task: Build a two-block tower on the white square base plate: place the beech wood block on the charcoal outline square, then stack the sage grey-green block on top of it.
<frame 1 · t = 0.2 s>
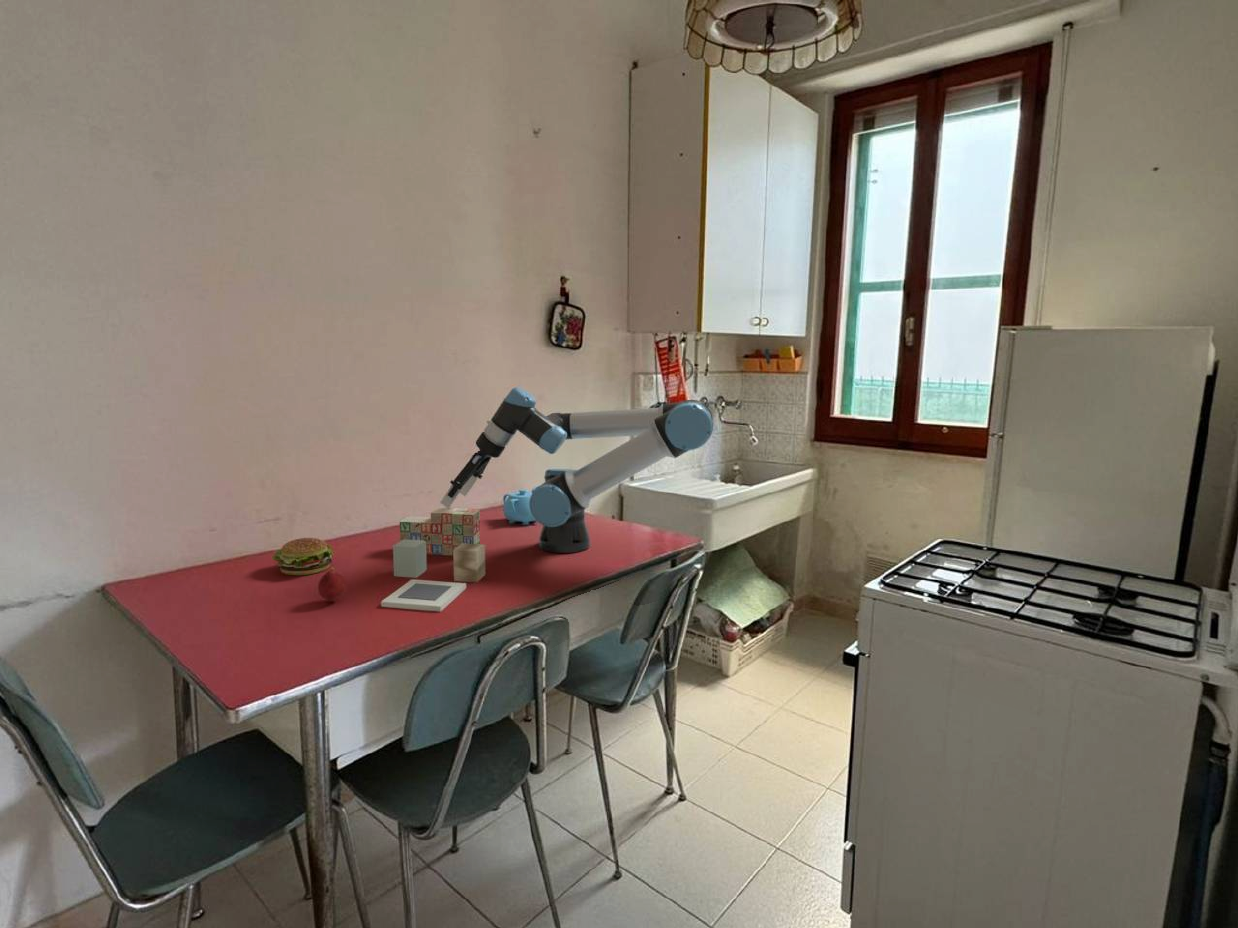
hand: (453, 499, 187), 16 cm above the table, tool tilted 35°, fingers open, 13 cm apart
stack of blocks: (440, 552, 191), on the table
sage block: (410, 573, 173), on the table
onion: (333, 602, 152), on the table
white square base plate: (425, 596, 156), on the table
food: (303, 570, 174), on the table
beech block: (469, 577, 170), on the table
teapot: (524, 521, 226), on the table
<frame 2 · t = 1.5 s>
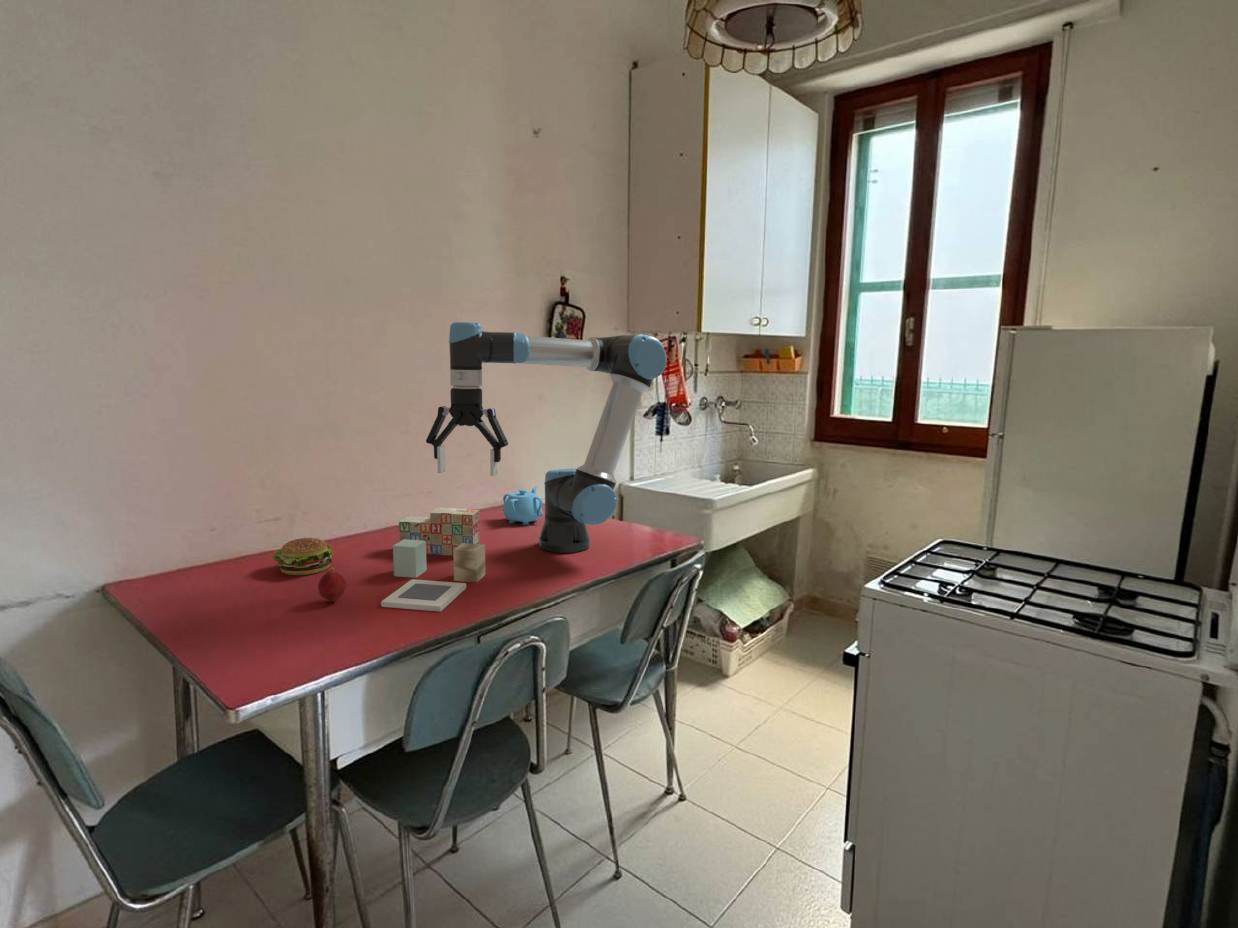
hand: (467, 473, 166), 27 cm above the table, tool pointing down, fingers open, 13 cm apart
nothing on the table moved.
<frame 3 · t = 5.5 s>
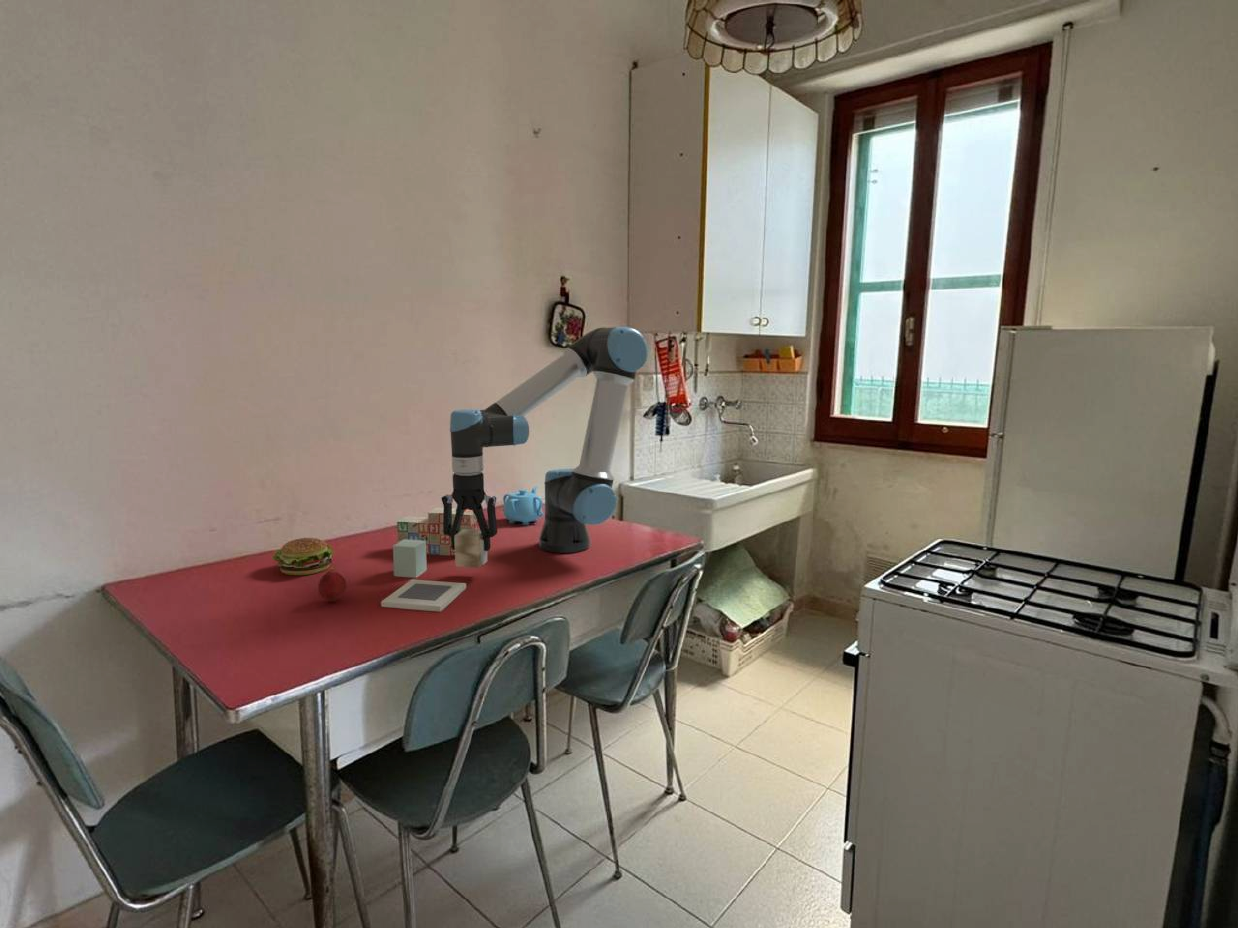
hand: (471, 561, 170), 4 cm above the table, tool pointing down, fingers closed on beech block, 6 cm apart
beech block: (471, 563, 170), point 4 cm above the table, touching gripper
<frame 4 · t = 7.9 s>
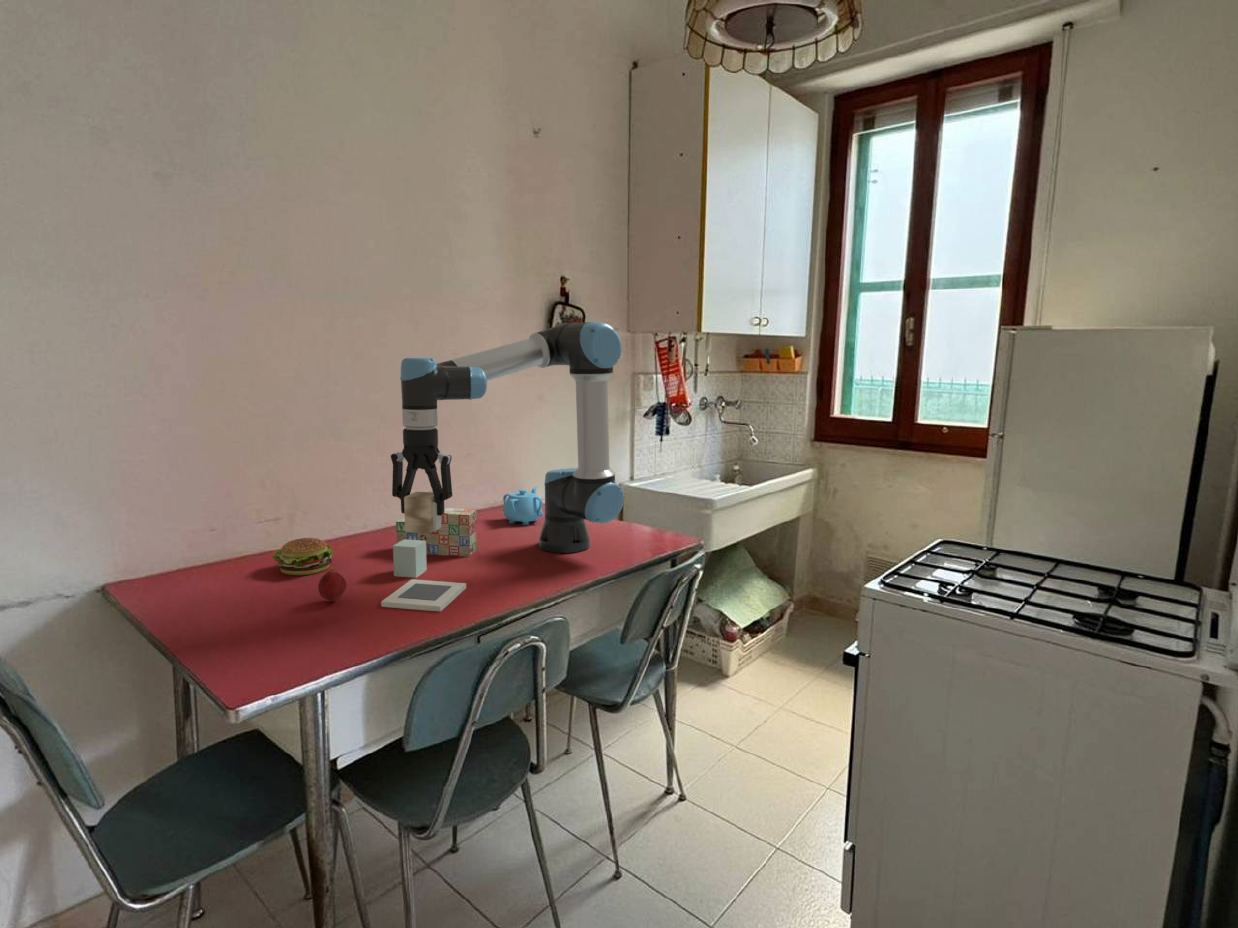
hand: (423, 527, 154), 17 cm above the table, tool pointing down, fingers closed on beech block, 6 cm apart
beech block: (423, 529, 154), point 16 cm above the table, touching gripper
when the fingers open (3 cm above the table, at t = 10.6 s): beech block drops 2 cm, resting on white square base plate.
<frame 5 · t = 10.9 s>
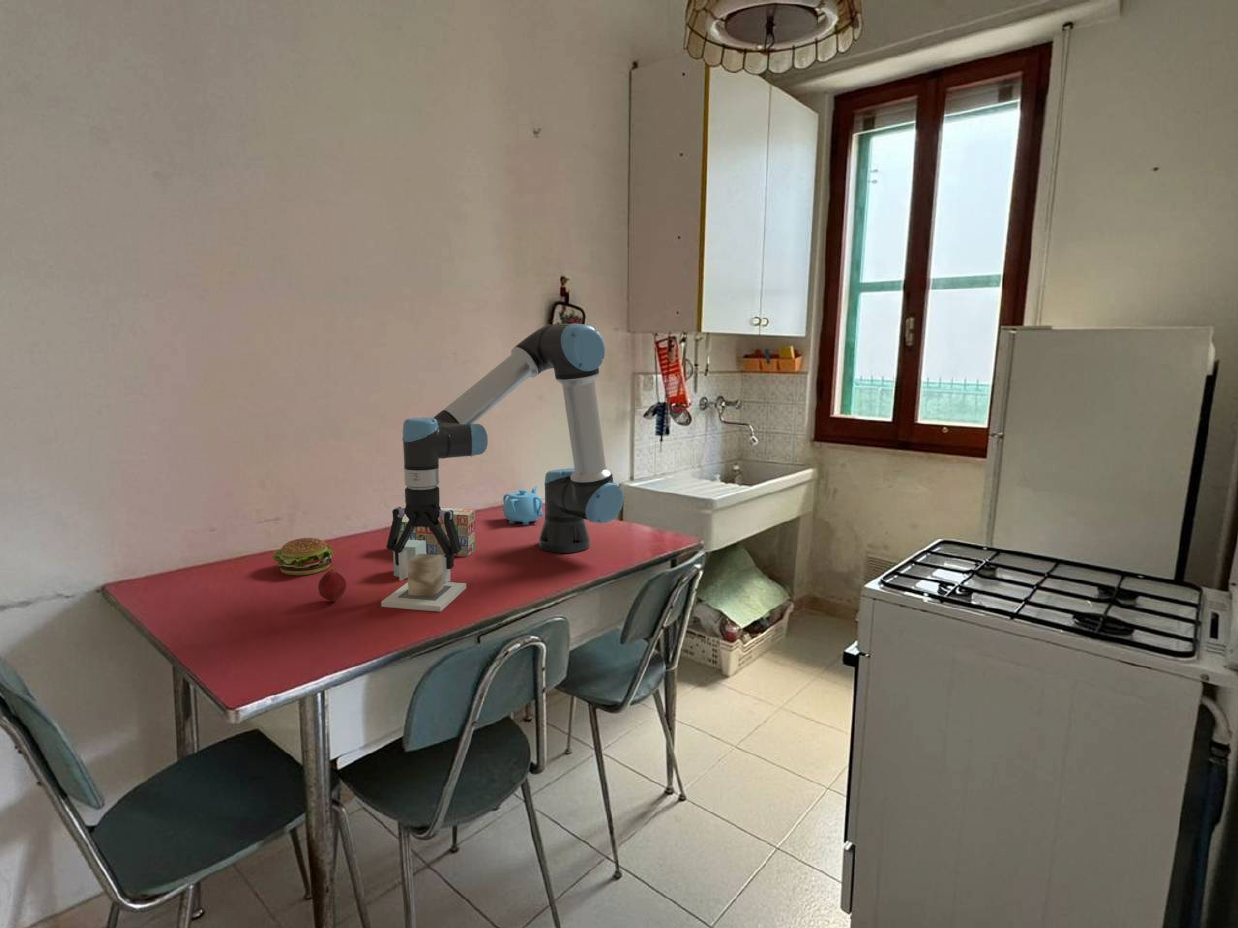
hand: (425, 580, 156), 4 cm above the table, tool pointing down, fingers open, 10 cm apart
beech block: (426, 591, 156), point 1 cm above the table, touching white square base plate
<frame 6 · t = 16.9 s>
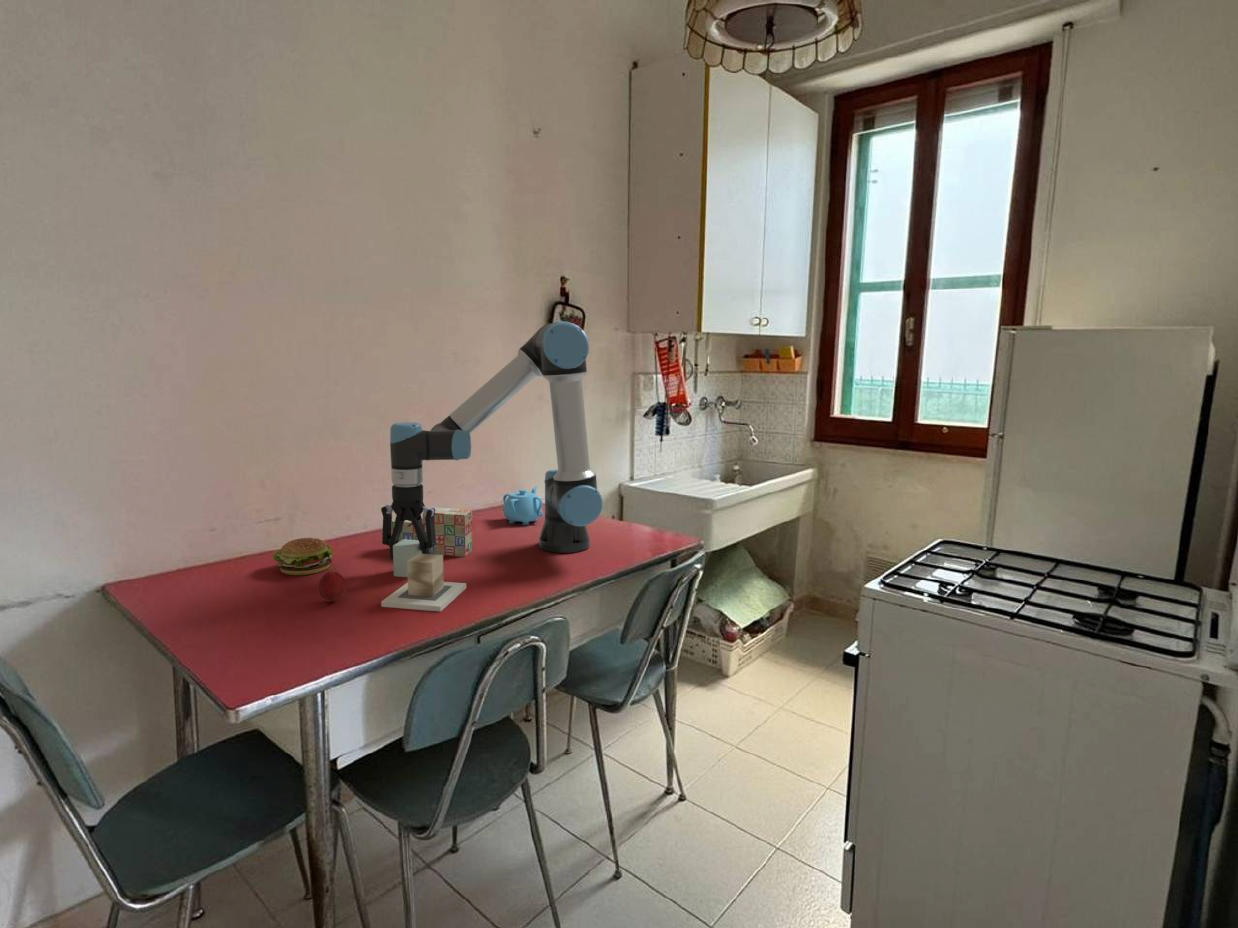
hand: (410, 571, 172), 0 cm above the table, tool pointing down, fingers closed on sage block, 6 cm apart
sage block: (410, 573, 173), on the table, touching gripper
when the fingers open (11 cm above the table, at t = 22.1 s): sage block drops 2 cm, resting on beech block.
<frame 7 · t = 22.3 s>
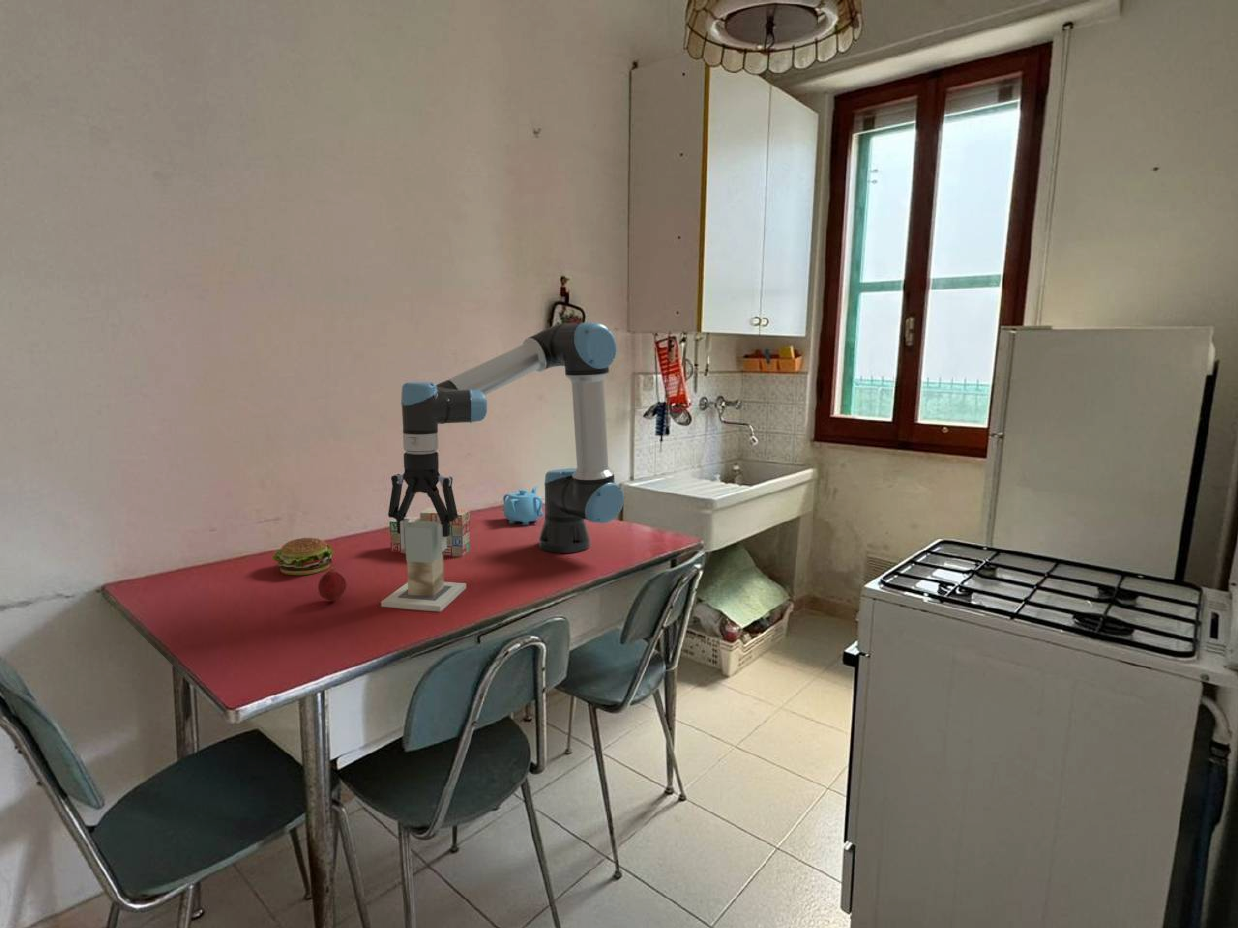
hand: (424, 548, 154), 12 cm above the table, tool pointing down, fingers open, 8 cm apart
sage block: (424, 558, 155), point 9 cm above the table, touching beech block
beech block: (426, 591, 156), point 1 cm above the table, touching white square base plate, sage block
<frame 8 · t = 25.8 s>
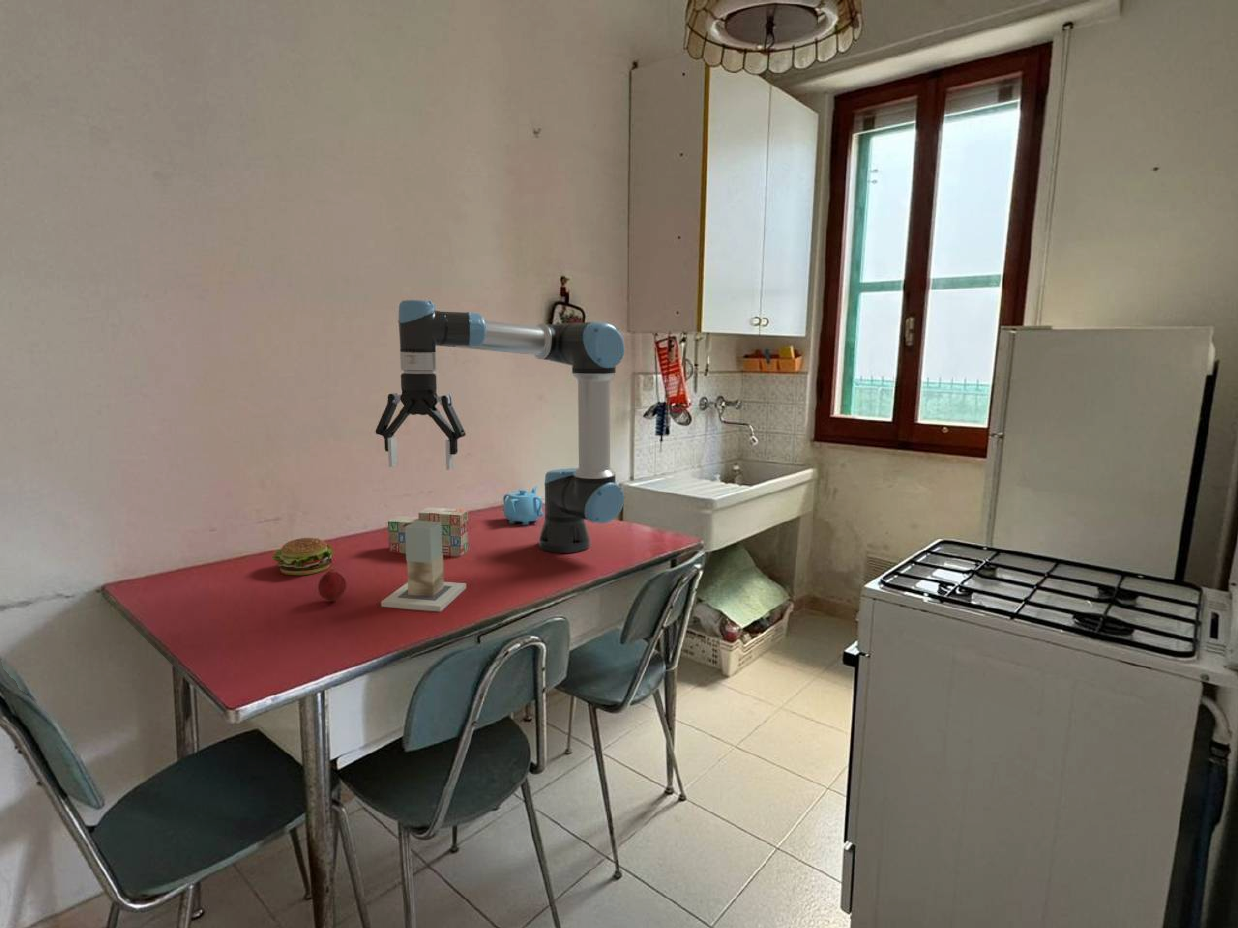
hand: (421, 467, 151), 31 cm above the table, tool pointing down, fingers open, 13 cm apart
at the end: beech block 0.2 cm from the target spot, point 1.4 cm above the table; sage block 0.2 cm off-centre on the beech block, point 8.0 cm above the beech block's base; sage block tilted 0° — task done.
